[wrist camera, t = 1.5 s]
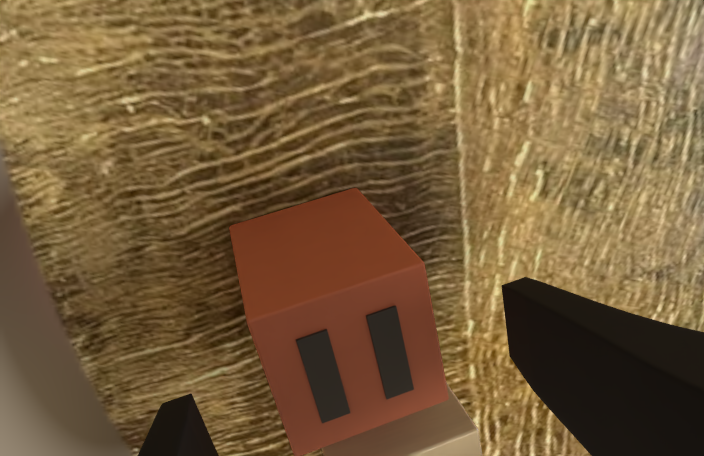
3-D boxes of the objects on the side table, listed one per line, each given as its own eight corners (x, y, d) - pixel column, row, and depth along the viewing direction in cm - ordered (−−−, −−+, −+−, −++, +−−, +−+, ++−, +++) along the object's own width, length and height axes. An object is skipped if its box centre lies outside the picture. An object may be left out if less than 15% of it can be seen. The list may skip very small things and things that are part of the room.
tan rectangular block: (423, 406, 21) (496, 532, 16) (322, 444, 21) (365, 587, 16) (405, 319, 19) (480, 430, 14) (294, 358, 19) (333, 488, 14)
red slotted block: (381, 295, 19) (451, 402, 14) (265, 334, 18) (295, 461, 13) (356, 186, 17) (426, 263, 12) (228, 225, 16) (246, 323, 12)
